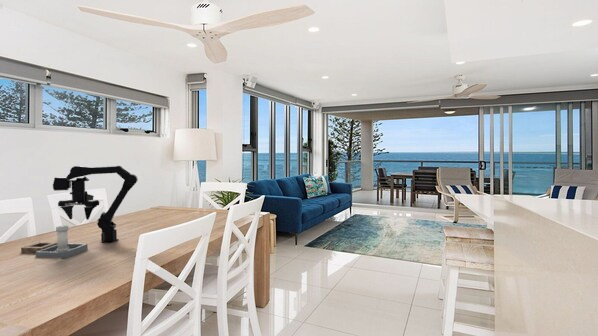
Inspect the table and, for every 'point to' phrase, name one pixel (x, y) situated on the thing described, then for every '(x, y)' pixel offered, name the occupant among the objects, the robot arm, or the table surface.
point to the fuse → (62, 239)
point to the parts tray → (53, 252)
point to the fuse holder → (37, 247)
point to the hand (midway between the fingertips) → (79, 219)
